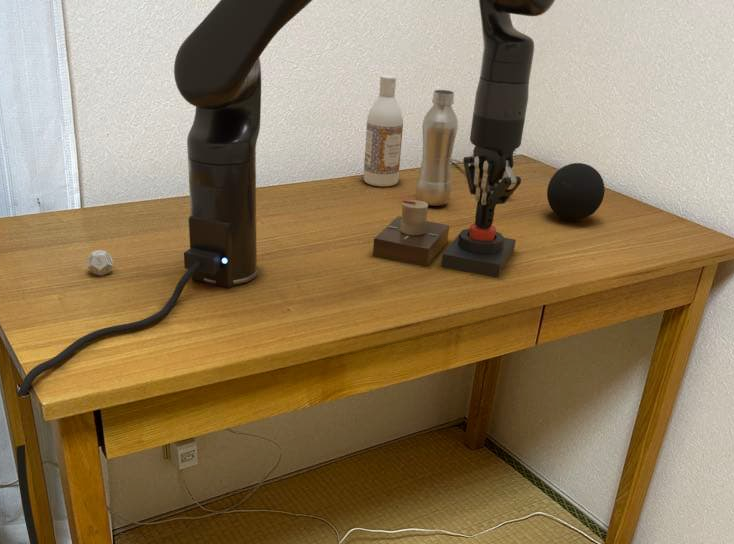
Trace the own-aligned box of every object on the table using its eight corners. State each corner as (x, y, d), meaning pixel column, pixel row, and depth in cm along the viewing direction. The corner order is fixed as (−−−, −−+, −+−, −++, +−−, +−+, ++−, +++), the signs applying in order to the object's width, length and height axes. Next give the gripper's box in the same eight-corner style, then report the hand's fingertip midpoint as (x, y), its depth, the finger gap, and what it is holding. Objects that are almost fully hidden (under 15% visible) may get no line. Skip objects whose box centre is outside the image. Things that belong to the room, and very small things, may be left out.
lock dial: (427, 229, 133) (431, 200, 130) (421, 237, 130) (424, 207, 127) (404, 225, 134) (406, 196, 131) (397, 233, 131) (400, 203, 128)
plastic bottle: (455, 203, 155) (469, 92, 144) (439, 212, 150) (452, 97, 139) (425, 196, 157) (436, 86, 147) (408, 204, 152) (418, 91, 142)
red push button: (491, 244, 127) (492, 233, 126) (466, 239, 128) (467, 229, 127) (496, 236, 130) (498, 225, 129) (472, 231, 131) (473, 221, 130)
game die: (117, 274, 119) (115, 255, 117) (92, 279, 117) (89, 259, 115) (109, 266, 121) (107, 246, 120) (84, 270, 119) (82, 250, 118)
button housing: (498, 278, 125) (501, 253, 123) (441, 267, 127) (444, 242, 125) (513, 252, 134) (517, 228, 132) (460, 242, 137) (463, 219, 135)
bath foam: (376, 189, 159) (384, 80, 149) (356, 179, 164) (362, 73, 154) (404, 184, 163) (414, 78, 152) (384, 175, 168) (392, 71, 157)
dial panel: (427, 267, 127) (429, 247, 126) (372, 256, 130) (373, 237, 128) (447, 242, 137) (449, 224, 135) (396, 233, 139) (398, 215, 138)
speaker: (593, 212, 154) (605, 158, 149) (602, 230, 146) (614, 174, 141) (540, 207, 155) (549, 154, 150) (545, 225, 146) (556, 169, 141)
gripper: (547, 121, 115) (527, 238, 124) (496, 100, 125) (480, 211, 135) (503, 123, 113) (485, 243, 122) (454, 102, 123) (441, 215, 132)
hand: (482, 226), depth 128 cm, fingers closed
